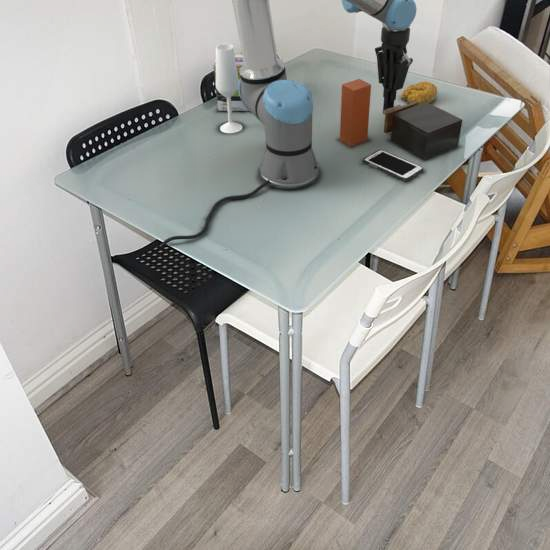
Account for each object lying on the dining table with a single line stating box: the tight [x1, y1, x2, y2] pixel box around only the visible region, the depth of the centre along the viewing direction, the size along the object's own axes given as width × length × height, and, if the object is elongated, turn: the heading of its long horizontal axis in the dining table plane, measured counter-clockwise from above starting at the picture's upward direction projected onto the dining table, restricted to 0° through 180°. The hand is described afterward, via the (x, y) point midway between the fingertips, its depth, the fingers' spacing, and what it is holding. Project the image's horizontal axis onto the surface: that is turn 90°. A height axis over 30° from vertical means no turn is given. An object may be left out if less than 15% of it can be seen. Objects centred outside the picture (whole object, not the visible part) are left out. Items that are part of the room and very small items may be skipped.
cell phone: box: [362, 149, 424, 182], centre depth 164 cm, size 8×15×1 cm, turn 44°
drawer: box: [382, 101, 418, 135], centre depth 175 cm, size 17×11×6 cm
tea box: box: [213, 53, 250, 112], centre depth 191 cm, size 15×10×15 cm, turn 84°
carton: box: [339, 78, 372, 147], centre depth 171 cm, size 6×5×16 cm
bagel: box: [401, 81, 438, 105], centre depth 193 cm, size 10×11×5 cm
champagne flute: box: [215, 43, 243, 134], centre depth 177 cm, size 7×7×24 cm
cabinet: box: [390, 102, 463, 161], centre depth 171 cm, size 14×13×8 cm
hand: (388, 109), depth 181 cm, fingers closed
